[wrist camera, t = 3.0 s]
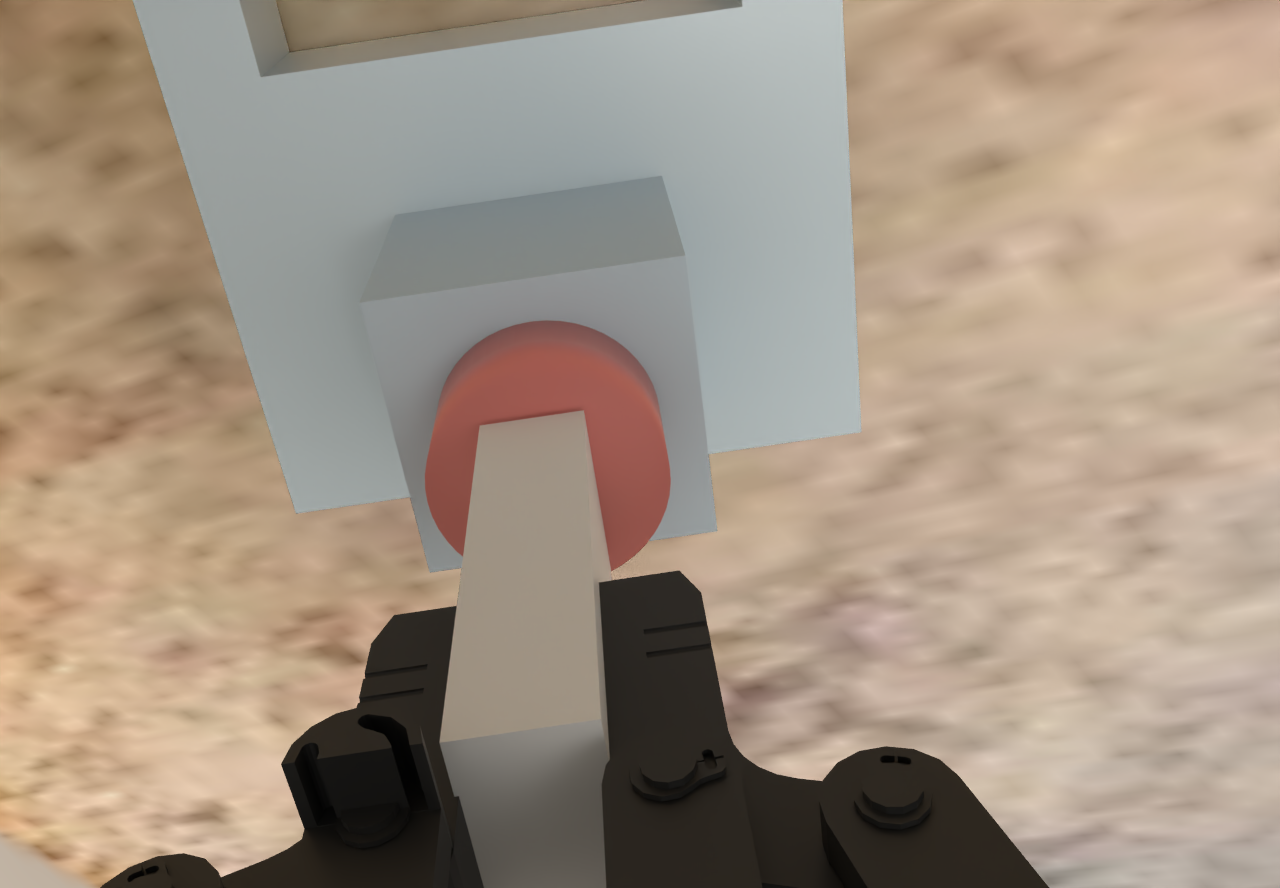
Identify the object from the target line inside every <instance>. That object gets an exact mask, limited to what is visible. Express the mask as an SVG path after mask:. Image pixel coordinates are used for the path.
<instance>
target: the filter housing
mask: <svg viewBox="0 0 1280 888" xmlns="http://www.w3.org/2000/svg"><path fill="white" fill-rule="evenodd" d="M133 4H134V7H135V10H136V13H137V16H138V19H139V22H140V25H141V29H142V32H143V35H144V38H145V41H146V44H147V47H148V51H149V54H150V57H151V60H152V63H153V66H154V69H155V73H156V76H157V79H158V82H159V85H160V88H161V91H162V95H163V98H164V101H165V104H166V107H167V110H168V113H169V116H170V120H171V123H172V126H173V129H174V132H175V135H176V138H177V142H178V145H179V148H180V151H181V154H182V157H183V160H184V164H185V167H186V170H187V173H188V176H189V179H190V182H191V185H192V189H193V192H194V195H195V198H196V201H197V204H198V207H199V211H200V214H201V217H202V220H203V223H204V226H205V229H206V233H207V236H208V239H209V242H210V245H211V248H212V251H213V255H214V258H215V261H216V264H217V267H218V270H219V273H220V276H221V280H222V283H223V286H224V289H225V292H226V295H227V298H228V302H229V305H230V308H231V311H232V314H233V317H234V320H235V324H236V327H237V330H238V333H239V336H240V339H241V342H242V346H243V349H244V352H245V355H246V358H247V361H248V364H249V367H250V371H251V374H252V377H253V380H254V383H255V386H256V389H257V393H258V396H259V399H260V402H261V405H262V408H263V411H264V415H265V418H266V421H267V424H268V427H269V430H270V433H271V437H272V440H273V443H274V446H275V449H276V452H277V455H278V458H279V462H280V465H281V468H282V471H283V474H284V477H285V480H286V484H287V487H288V490H289V493H290V496H291V499H292V502H293V506H294V509H295V512H296V514H297V513H304V512H311V511H318V510H325V509H332V508H339V507H346V506H353V505H360V504H367V503H374V502H381V501H387V500H394V499H401V498H408V497H410V499H411V503H412V506H413V510H414V514H415V518H416V522H417V525H418V529H419V533H420V537H421V541H422V545H423V548H424V552H425V556H426V560H427V564H428V568H429V571H430V572H437V571H444V570H451V569H458V568H462V561H463V556H461V555H460V554H459V553H458V552H457V551H456V550H455V549H454V548H453V547H452V546H451V545H450V544H449V543H448V542H447V540H446V539H445V538H444V536H443V535H442V533H441V532H440V530H439V529H438V527H437V525H436V523H435V521H434V519H433V517H432V515H431V512H430V509H429V506H428V503H427V497H426V491H425V470H426V462H427V457H428V452H429V447H430V442H431V437H432V432H433V427H434V423H435V418H436V413H437V408H438V403H439V399H440V395H441V392H442V389H443V386H444V384H445V382H446V380H447V377H448V375H449V374H450V372H451V371H452V369H453V368H454V366H455V365H456V363H457V362H458V361H459V360H460V359H461V358H462V356H463V355H464V354H465V353H466V352H467V351H469V350H470V349H471V348H472V347H473V346H474V345H475V344H477V343H478V342H480V341H481V340H483V339H484V338H486V337H487V336H489V335H491V334H493V333H495V332H497V331H499V330H501V329H504V328H507V327H510V326H513V325H517V324H521V323H526V322H532V321H544V320H548V321H564V322H570V323H576V324H579V325H583V326H586V327H590V328H592V329H595V330H597V331H599V332H601V333H604V334H605V335H607V336H609V337H611V338H612V339H614V340H616V341H617V342H618V343H620V344H621V345H622V346H624V347H625V348H626V349H627V350H628V351H629V352H630V353H631V354H632V355H633V356H634V357H635V358H636V359H637V360H638V361H639V362H640V364H641V365H642V366H643V368H644V369H645V371H646V372H647V374H648V376H649V378H650V380H651V381H652V383H653V386H654V389H655V392H656V394H657V398H658V403H659V408H660V413H661V419H662V425H663V430H664V436H665V442H666V448H667V453H668V459H669V465H670V476H671V485H670V496H669V500H668V504H667V508H666V511H665V513H664V516H663V518H662V521H661V523H660V524H659V526H658V528H657V530H656V531H655V533H654V534H653V536H652V537H651V538H650V540H649V541H653V540H660V539H667V538H673V537H680V536H687V535H694V534H701V533H708V532H715V531H717V523H716V514H715V506H714V497H713V488H712V480H711V471H710V462H709V454H714V453H721V452H728V451H734V450H741V449H748V448H755V447H762V446H769V445H776V444H783V443H790V442H797V441H804V440H811V439H818V438H825V437H832V436H839V435H845V434H852V433H859V432H861V412H860V389H859V366H858V343H857V321H856V298H855V275H854V252H853V229H852V206H851V184H850V161H849V138H848V115H847V92H846V69H845V47H844V24H843V1H842V0H643V1H636V2H629V3H622V4H616V5H609V6H602V7H595V8H588V9H581V10H575V11H568V12H561V13H554V14H547V15H541V16H534V17H527V18H520V19H513V20H506V21H500V22H493V23H486V24H479V25H472V26H465V27H459V28H452V29H445V30H438V31H431V32H425V33H418V34H411V35H404V36H397V37H390V38H384V39H377V40H370V41H363V42H356V43H349V44H343V45H336V46H329V47H322V48H315V49H309V50H302V51H295V52H289V48H288V45H287V41H286V37H285V33H284V29H283V26H282V22H281V18H280V14H279V10H278V7H277V3H276V0H133Z"/></svg>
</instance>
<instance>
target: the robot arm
mask: <svg viewBox="0 0 1280 888" xmlns="http://www.w3.org/2000/svg"><path fill="white" fill-rule="evenodd" d="M359 699H360V703H358V705H357V708H355V709H351V710H348V711H344V712H341V713H337V714H334V715H332V716H331V717H329V718H327V719H325V720H323V721H321V722H319V723H318V724H316V725H314V726H312V727H311V728H309V729H308V730H307V731H306V732H305V733H304V734H303V735H302V736H301V737H300V738H299V739H297V740H296V741H295V742H294V743H293V744H292V745H291V747H290V749H289V751H288V753H287V754H286V756H285V758H284V760H283V762H282V764H281V765H282V768H283V771H284V774H285V776H286V779H287V782H288V785H289V787H290V790H291V793H292V796H293V798H294V801H295V804H296V806H297V809H298V812H299V815H300V817H301V820H302V823H303V826H304V828H305V829H304V833H303V838H302V839H301V840H300V841H299V842H297V843H296V844H294V845H293V846H291V847H290V848H289V849H287V850H285V851H283V852H281V853H279V854H277V855H275V856H273V857H270V858H268V859H266V860H264V861H261V862H259V863H256V864H254V865H251V866H249V867H246V868H244V869H241V870H239V871H236V872H234V873H231V874H229V875H226V876H224V877H220V875H219V873H218V871H217V870H216V869H215V868H214V867H213V866H212V865H211V864H210V863H209V862H208V861H207V860H206V859H204V858H200V857H196V856H192V855H188V854H184V853H183V854H174V855H166V856H157V857H155V858H152V859H149V860H147V861H144V862H142V863H139V864H137V865H134V866H132V867H129V868H127V869H126V870H125V871H123V872H122V873H120V874H119V875H117V876H116V877H114V878H113V879H111V880H110V881H108V882H107V883H105V884H104V885H102V887H101V888H1049V887H1048V886H1047V885H1046V883H1045V882H1044V881H1043V880H1042V878H1041V877H1040V876H1039V875H1038V873H1037V872H1036V871H1035V870H1034V868H1033V867H1032V866H1031V865H1030V864H1029V862H1028V861H1027V860H1026V859H1025V857H1024V856H1023V855H1022V854H1021V852H1020V851H1019V850H1018V849H1017V847H1016V846H1015V845H1014V844H1013V842H1012V841H1011V840H1010V839H1009V838H1008V836H1007V835H1006V834H1005V833H1004V831H1003V830H1002V829H1001V828H1000V826H999V825H998V824H997V823H996V821H995V820H994V819H993V818H992V816H991V815H990V814H989V813H988V812H987V810H986V809H985V808H984V807H983V805H982V804H981V803H980V802H979V800H978V799H977V798H976V797H975V795H974V794H973V793H972V792H971V790H970V789H969V788H968V787H967V786H966V784H965V783H964V782H963V781H962V779H961V778H960V777H959V776H958V775H957V774H956V773H955V772H954V771H952V770H951V769H950V768H949V767H948V766H947V765H945V764H944V763H943V762H942V761H941V760H939V759H937V758H935V757H932V756H930V755H927V754H925V753H922V752H919V751H917V750H914V749H906V748H896V747H880V748H875V749H869V750H863V751H859V752H857V753H855V754H853V755H851V756H849V757H847V758H846V759H844V760H842V761H840V762H838V763H837V764H836V765H835V766H834V768H833V769H832V770H831V771H830V772H829V774H828V775H827V776H826V777H825V778H824V780H823V781H816V780H806V779H797V778H792V777H787V776H782V775H777V774H774V773H772V772H769V771H767V770H765V769H762V768H760V767H758V766H756V765H755V764H753V763H752V762H751V761H749V760H748V759H746V758H745V757H744V756H743V755H742V754H741V753H740V752H739V750H738V749H737V748H736V747H735V745H734V744H733V742H732V739H731V737H730V734H729V731H728V727H727V722H726V717H725V712H724V707H723V702H722V697H721V692H720V686H719V681H718V676H717V671H716V666H715V661H714V656H713V651H712V647H711V641H710V636H709V631H708V626H707V621H706V615H705V610H704V605H703V600H702V595H701V592H700V591H699V590H698V589H697V588H696V587H695V586H694V585H693V584H692V583H691V582H690V581H689V580H688V579H687V578H686V577H685V576H684V575H683V574H682V573H681V572H680V571H673V572H667V573H660V574H653V575H646V576H639V577H632V578H626V579H619V580H612V576H611V567H610V561H609V555H608V549H607V543H606V537H605V531H604V525H603V520H602V514H601V508H600V502H599V496H598V490H597V484H596V478H595V473H594V467H593V461H592V455H591V449H590V443H589V437H588V432H587V426H586V420H585V414H584V410H582V411H575V412H569V413H562V414H555V415H548V416H541V417H535V418H528V419H521V420H514V421H507V422H500V423H494V424H487V425H480V427H479V435H478V443H477V450H476V458H475V466H474V474H473V482H472V490H471V498H470V506H469V514H468V521H467V529H466V537H465V545H464V553H463V561H462V569H461V577H460V585H459V592H458V600H457V606H454V607H447V608H440V609H433V610H427V611H420V612H413V613H406V614H399V615H394V616H393V617H392V619H391V620H390V621H389V622H388V624H387V625H386V626H385V627H384V629H383V630H382V631H381V632H380V634H379V635H378V636H377V637H376V639H375V640H374V641H373V642H372V644H371V648H370V652H369V657H368V661H367V665H366V670H365V679H363V683H362V687H361V692H360V696H359Z"/></svg>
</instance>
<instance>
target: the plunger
mask: <svg viewBox="0 0 1280 888" xmlns="http://www.w3.org/2000/svg"><path fill="white" fill-rule="evenodd" d="M582 410H584V414H585V420H586V426H587V432H588V437H589V443H590V449H591V455H592V461H593V467H594V473H595V478H596V484H597V490H598V496H599V502H600V508H601V514H602V520H603V525H604V531H605V537H606V543H607V549H608V555H609V561H610V567H611V571H612V570H614V569H616V568H618V567H619V566H621V565H623V564H624V563H625V562H627V561H628V560H629V559H631V558H632V557H633V556H635V555H636V554H637V553H638V552H639V551H640V550H641V549H642V548H643V547H644V546H645V545H646V543H647V542H648V541H649V540H650V538H651V537H652V536H653V534H654V533H655V531H656V530H657V528H658V526H659V524H660V523H661V521H662V518H663V516H664V513H665V511H666V508H667V504H668V500H669V496H670V485H671V476H670V465H669V459H668V453H667V448H666V442H665V436H664V430H663V425H662V419H661V413H660V408H659V403H658V398H657V394H656V392H655V389H654V386H653V383H652V381H651V380H650V378H649V376H648V374H647V372H646V371H645V369H644V368H643V366H642V365H641V364H640V362H639V361H638V360H637V359H636V358H635V357H634V356H633V355H632V354H631V353H630V352H629V351H628V350H627V349H626V348H625V347H624V346H622V345H621V344H620V343H618V342H617V341H616V340H614V339H612V338H611V337H609V336H607V335H605V334H604V333H601V332H599V331H597V330H595V329H592V328H590V327H586V326H583V325H579V324H576V323H570V322H564V321H548V320H544V321H532V322H526V323H521V324H517V325H513V326H510V327H507V328H504V329H501V330H499V331H497V332H495V333H493V334H491V335H489V336H487V337H486V338H484V339H483V340H481V341H480V342H478V343H477V344H475V345H474V346H473V347H472V348H471V349H470V350H469V351H467V352H466V353H465V354H464V355H463V356H462V358H461V359H460V360H459V361H458V362H457V363H456V365H455V366H454V368H453V369H452V371H451V372H450V374H449V375H448V377H447V380H446V382H445V384H444V386H443V389H442V392H441V395H440V399H439V403H438V408H437V413H436V418H435V423H434V427H433V432H432V437H431V442H430V447H429V452H428V457H427V462H426V470H425V491H426V497H427V503H428V506H429V509H430V512H431V515H432V517H433V519H434V521H435V523H436V525H437V527H438V529H439V530H440V532H441V533H442V535H443V536H444V538H445V539H446V540H447V542H448V543H449V544H450V545H451V546H452V547H453V548H454V549H455V550H456V551H457V552H458V553H459V554H460V555H461V556H463V553H464V545H465V537H466V529H467V521H468V514H469V506H470V498H471V490H472V482H473V474H474V466H475V458H476V450H477V443H478V435H479V427H480V425H487V424H494V423H500V422H507V421H514V420H521V419H528V418H535V417H541V416H548V415H555V414H562V413H569V412H575V411H582Z"/></svg>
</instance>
